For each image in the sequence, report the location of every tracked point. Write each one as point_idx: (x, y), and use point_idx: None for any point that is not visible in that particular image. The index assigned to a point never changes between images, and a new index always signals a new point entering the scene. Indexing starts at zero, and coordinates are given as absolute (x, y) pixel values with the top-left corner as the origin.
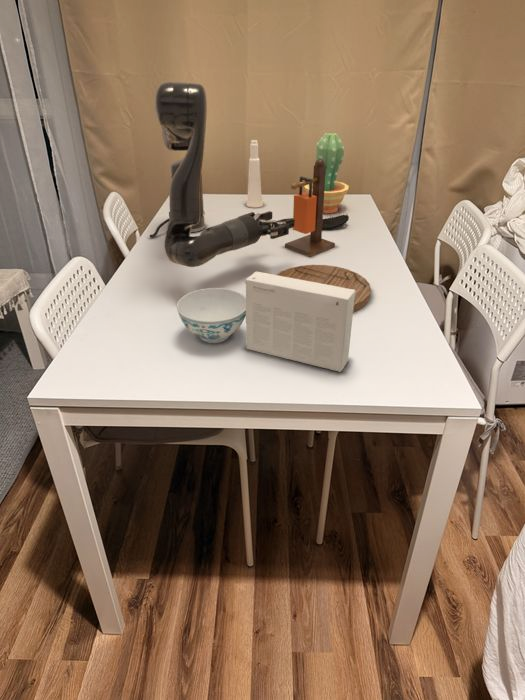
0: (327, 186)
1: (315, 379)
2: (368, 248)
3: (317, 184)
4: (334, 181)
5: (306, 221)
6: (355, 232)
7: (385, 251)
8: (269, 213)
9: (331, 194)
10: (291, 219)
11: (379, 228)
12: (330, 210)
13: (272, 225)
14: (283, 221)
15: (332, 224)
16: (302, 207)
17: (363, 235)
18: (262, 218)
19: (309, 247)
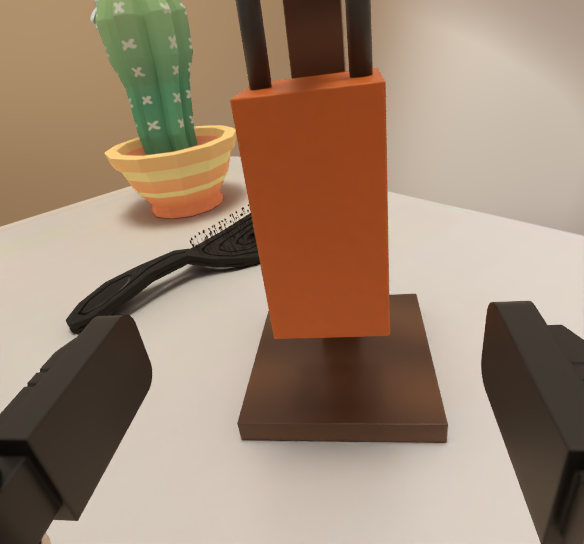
0: (181, 135)
1: None
2: (505, 258)
3: (325, 5)
4: (191, 118)
5: (387, 257)
6: None
7: (562, 244)
8: (110, 349)
9: (211, 150)
10: (525, 319)
11: (388, 194)
12: (212, 200)
13: (75, 327)
14: (564, 442)
15: None
16: (341, 169)
17: (398, 226)
18: (50, 485)
19: (378, 378)
